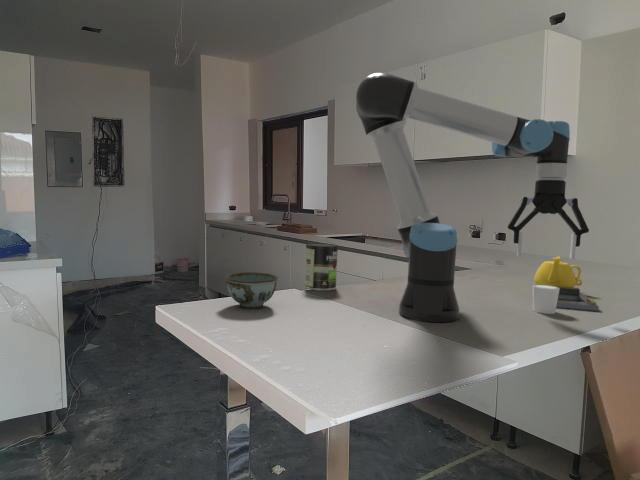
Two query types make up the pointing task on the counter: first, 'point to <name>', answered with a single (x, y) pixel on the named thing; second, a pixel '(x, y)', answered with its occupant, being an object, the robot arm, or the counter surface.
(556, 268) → the teapot
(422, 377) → the counter surface
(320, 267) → the coffee can
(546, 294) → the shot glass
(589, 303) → the chassis plate
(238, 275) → the bowl
